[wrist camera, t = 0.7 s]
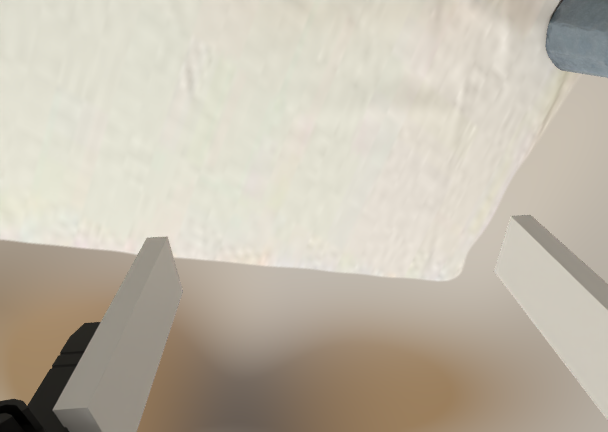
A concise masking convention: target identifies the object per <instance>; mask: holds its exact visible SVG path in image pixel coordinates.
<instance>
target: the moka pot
mask: <svg viewBox="0 0 608 432" xmlns="http://www.w3.org/2000/svg"><path fill="white" fill-rule="evenodd" d="M546 50H547V53H548V56H549V58H550V59H551V60H552V62H553V63H554V64H555V66H556V67H558V68H559V69H560V70H563V71H569V72H575V73H582V74H588V75H594V76H601V77H607V78H608V0H563V1H562V2H561V4H560V5H559V7H558V8H557V10H556V12H555V13H554V15H553V17H552V19H551V20H550V23H549V26H548V30H547V38H546Z"/></svg>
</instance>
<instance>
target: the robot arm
mask: <svg viewBox="0 0 608 432" xmlns="http://www.w3.org/2000/svg"><path fill="white" fill-rule="evenodd" d="M494 272H495V273H496V275H497V276H498V277H499V278H500V280H501V281H502V282H503V284H504V285H505V286H506V288H507V289H508V290H509V292H510V293H511V294H512V296H513V297H514V298H515V299H516V301H517V302H518V303H519V305H520V306H521V307H522V309H523V310H524V311H525V313H526V314H527V315H528V316H529V318H530V319H531V320H532V322H533V323H534V324H535V326H536V327H537V328H538V329H539V331H540V332H541V333H542V335H543V336H544V338H545V339H546V340H547V341H548V343H549V344H550V345H551V347H552V348H553V349H554V351H555V352H556V353H557V354H558V356H559V357H560V358H561V360H562V361H563V362H564V364H565V365H566V366H567V368H568V369H569V370H570V372H571V373H572V374H573V375H574V377H575V378H576V379H577V381H578V382H579V383H580V384H581V386H582V387H583V389H584V390H585V391H586V392H587V394H588V395H589V396H590V398H591V399H592V400H593V402H594V403H595V404H596V406H597V407H598V408H599V410H600V411H601V412H602V414H603V415H604V416H605V417H606V419H607V420H608V284H607V283H606V282H605V281H604V280H603V279H602V278H601V277H599V276H598V275H597V274H596V273H595V272H594V271H593V270H591V269H590V268H589V267H588V266H587V265H586V264H585V263H584V262H583V261H581V260H580V259H579V258H578V257H577V256H576V255H575V254H574V253H572V252H571V251H570V250H569V249H568V248H567V247H566V246H565V245H564V244H562V243H561V242H560V241H559V240H558V239H557V238H555V236H553V235H552V234H551V233H550V232H549V231H548V230H547V229H545V227H543V226H542V225H541V224H540V223H539V222H538V221H537V220H536V219H534V218H533V217H532V216H531V215H522V216H511V217H510V221H509V224H508V227H507V231H506V234H505V237H504V240H503V244H502V247H501V250H500V253H499V257H498V260H497V263H496V267H495V270H494ZM182 293H183V290H182V286H181V282H180V279H179V275H178V272H177V269H176V265H175V261H174V258H173V254H172V251H171V247H170V244H169V240H168V237H153V238H147V239H146V241H145V242H144V244H143V246H142V248H141V250H140V251H139V253H138V255H137V257H136V259H135V261H134V263H133V264H132V266H131V268H130V270H129V272H128V273H127V275H126V277H125V279H124V281H123V282H122V284H121V286H120V288H119V290H118V292H117V294H116V295H115V297H114V299H113V301H112V302H111V304H110V306H109V308H108V310H107V312H106V313H105V315H104V317H103V319H102V321H101V322H94V323H84V324H83V325H82V326H81V327H80V328H79V329H78V330H77V331H76V332H75V333H74V334H72V335H71V336H70V338H69V339H68V341H67V342H66V344H65V346H64V347H63V349H62V350H61V352H60V356H58V357H57V359H56V360H55V362H54V364H53V365H52V369H50V370H49V372H48V373H47V375H46V377H45V378H44V380H43V381H42V383H41V385H40V386H39V388H38V389H37V391H36V393H35V395H34V396H33V398H32V399H31V401H30V403H29V404H28V406H27V405H26V404H25V403H24V402H23V401H21V400H16V399H10V400H4V401H0V432H137V428H138V426H139V423H140V420H141V417H142V414H143V410H144V408H145V405H146V402H147V398H148V395H149V392H150V389H151V386H152V383H153V380H154V377H155V374H156V371H157V368H158V365H159V362H160V359H161V356H162V353H163V350H164V347H165V344H166V341H167V338H168V335H169V332H170V329H171V326H172V323H173V320H174V317H175V314H176V311H177V308H178V305H179V301H180V299H181V296H182Z"/></svg>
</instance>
